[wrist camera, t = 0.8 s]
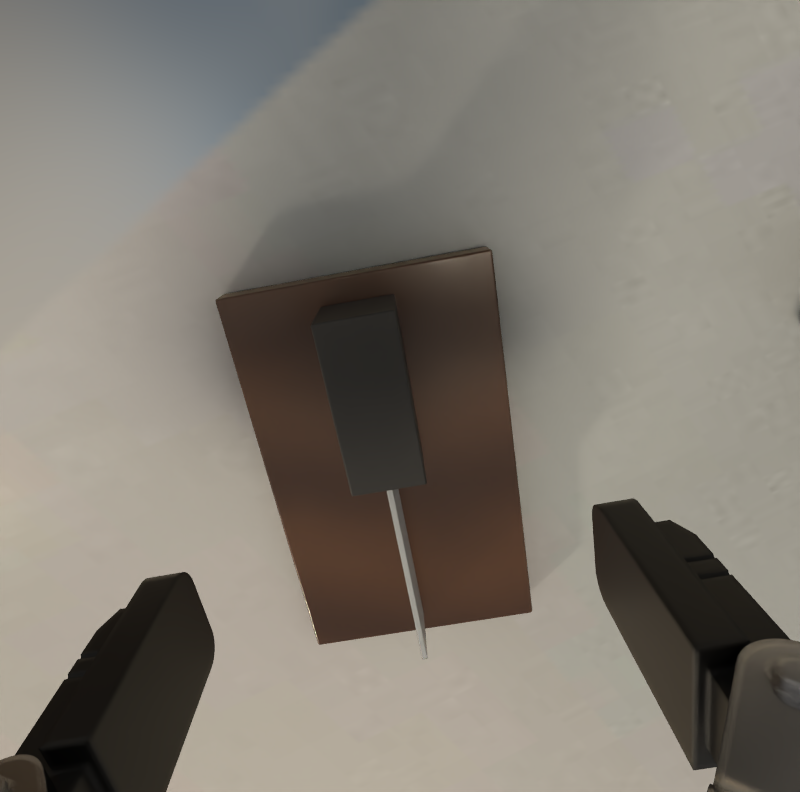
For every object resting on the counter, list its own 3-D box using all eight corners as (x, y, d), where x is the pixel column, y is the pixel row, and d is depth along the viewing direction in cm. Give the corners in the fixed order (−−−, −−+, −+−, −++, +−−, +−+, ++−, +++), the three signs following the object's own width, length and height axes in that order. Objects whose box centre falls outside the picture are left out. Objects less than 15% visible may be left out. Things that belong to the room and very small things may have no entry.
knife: (319, 306, 22) (309, 324, 19) (394, 293, 22) (395, 309, 19) (392, 618, 27) (392, 667, 25) (450, 609, 27) (458, 658, 25)
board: (222, 293, 23) (214, 299, 22) (487, 245, 22) (492, 249, 21) (320, 627, 29) (318, 645, 28) (527, 596, 29) (532, 612, 28)
